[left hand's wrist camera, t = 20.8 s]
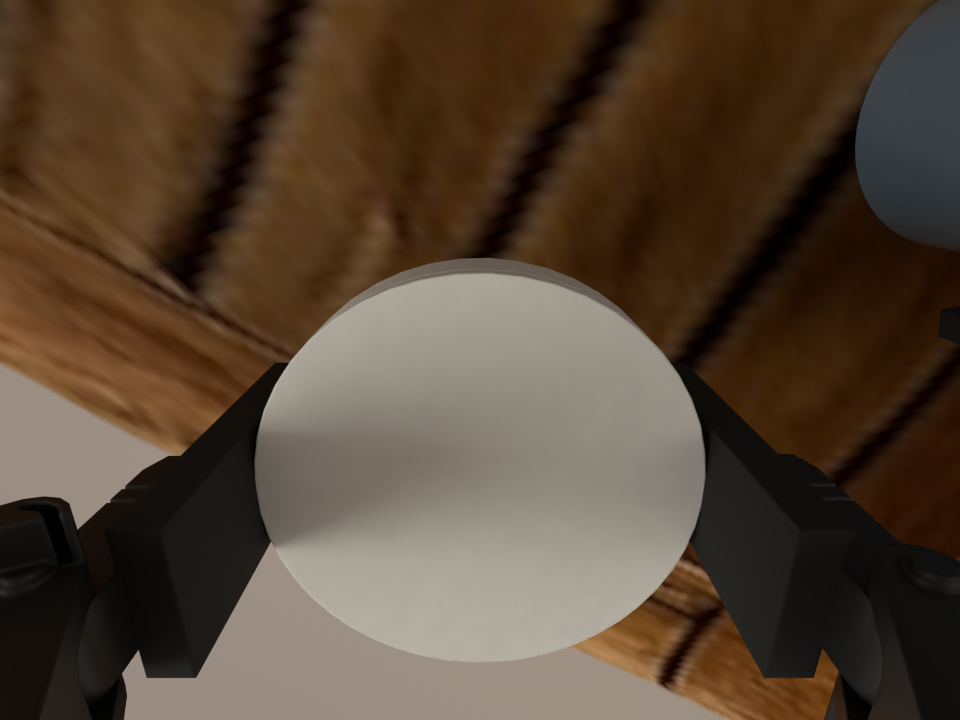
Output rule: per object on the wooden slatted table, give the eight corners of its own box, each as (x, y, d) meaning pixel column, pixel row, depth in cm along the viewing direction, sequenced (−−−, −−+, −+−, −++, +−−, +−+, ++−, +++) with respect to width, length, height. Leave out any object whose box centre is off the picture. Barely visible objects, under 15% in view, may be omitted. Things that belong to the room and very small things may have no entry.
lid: (695, 573, 13) (722, 625, 12) (351, 635, 14) (335, 691, 12) (654, 210, 10) (683, 219, 9) (219, 311, 11) (178, 335, 9)
